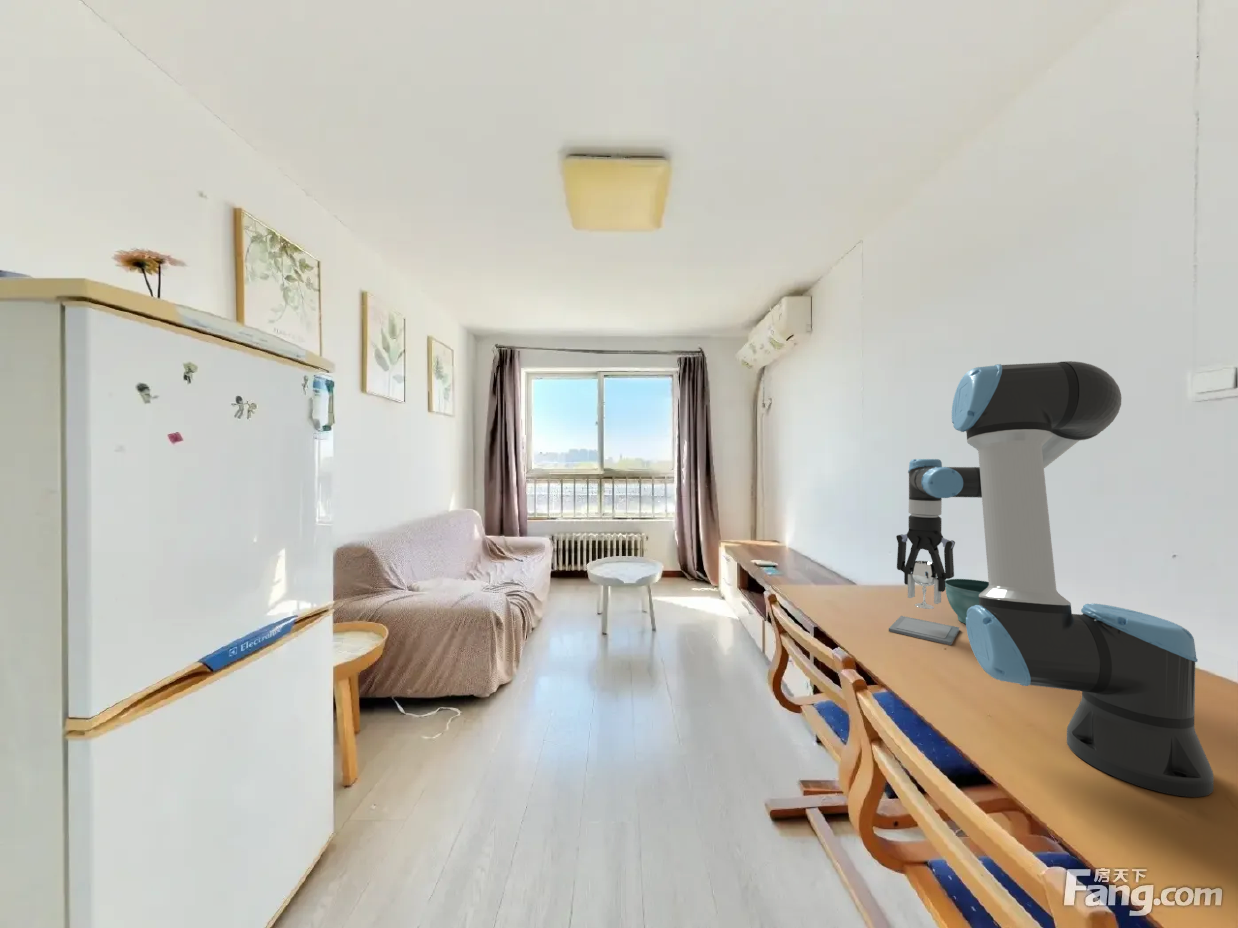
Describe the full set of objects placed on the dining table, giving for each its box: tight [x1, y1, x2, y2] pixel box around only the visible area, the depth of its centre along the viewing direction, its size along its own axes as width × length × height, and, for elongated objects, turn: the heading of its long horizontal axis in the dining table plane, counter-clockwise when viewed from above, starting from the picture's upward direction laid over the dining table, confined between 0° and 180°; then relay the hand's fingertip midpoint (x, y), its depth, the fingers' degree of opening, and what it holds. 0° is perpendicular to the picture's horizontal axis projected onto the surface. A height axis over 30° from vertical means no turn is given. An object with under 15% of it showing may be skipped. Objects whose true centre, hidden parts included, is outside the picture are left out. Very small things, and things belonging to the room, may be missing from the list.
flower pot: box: [945, 578, 989, 625], centre depth 133 cm, size 16×16×11 cm
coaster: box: [888, 615, 960, 646], centre depth 127 cm, size 14×14×1 cm
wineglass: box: [911, 560, 937, 610], centre depth 127 cm, size 6×6×12 cm
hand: (924, 599), depth 127 cm, fingers closed on wineglass, 6 cm apart
